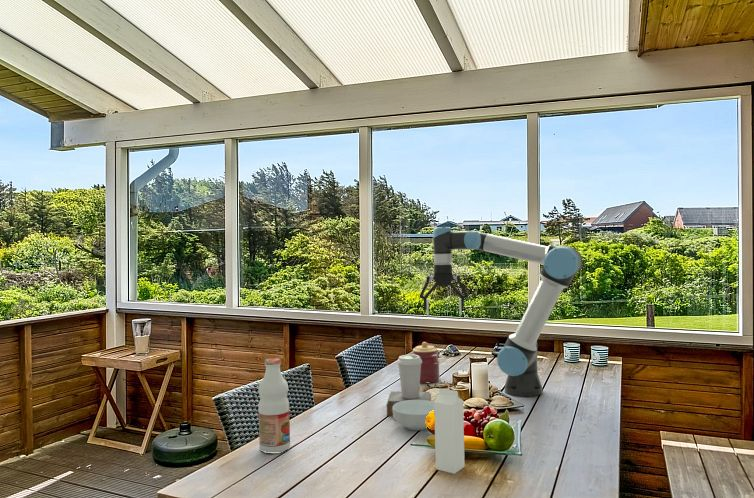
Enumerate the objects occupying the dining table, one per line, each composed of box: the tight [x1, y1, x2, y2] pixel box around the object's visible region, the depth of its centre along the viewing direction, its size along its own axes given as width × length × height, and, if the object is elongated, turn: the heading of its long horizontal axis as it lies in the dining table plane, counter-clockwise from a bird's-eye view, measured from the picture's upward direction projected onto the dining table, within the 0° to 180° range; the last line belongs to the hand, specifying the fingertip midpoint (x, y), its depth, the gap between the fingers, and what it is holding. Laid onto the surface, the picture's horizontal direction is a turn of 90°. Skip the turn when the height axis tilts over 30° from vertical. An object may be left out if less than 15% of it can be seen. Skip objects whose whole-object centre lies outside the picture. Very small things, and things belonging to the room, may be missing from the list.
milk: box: [433, 388, 466, 475], centre depth 154 cm, size 6×6×22 cm
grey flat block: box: [386, 391, 432, 417], centre depth 209 cm, size 16×14×5 cm
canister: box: [410, 341, 440, 384], centre depth 253 cm, size 13×13×18 cm
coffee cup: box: [396, 354, 422, 399], centre depth 208 cm, size 10×10×15 cm
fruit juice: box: [258, 357, 291, 453], centre depth 172 cm, size 9×9×28 cm
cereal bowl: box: [392, 400, 434, 431], centre depth 190 cm, size 17×17×7 cm
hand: (444, 314), depth 230 cm, fingers open, 13 cm apart
